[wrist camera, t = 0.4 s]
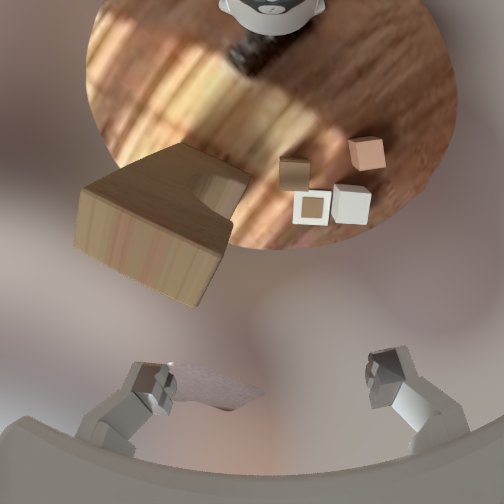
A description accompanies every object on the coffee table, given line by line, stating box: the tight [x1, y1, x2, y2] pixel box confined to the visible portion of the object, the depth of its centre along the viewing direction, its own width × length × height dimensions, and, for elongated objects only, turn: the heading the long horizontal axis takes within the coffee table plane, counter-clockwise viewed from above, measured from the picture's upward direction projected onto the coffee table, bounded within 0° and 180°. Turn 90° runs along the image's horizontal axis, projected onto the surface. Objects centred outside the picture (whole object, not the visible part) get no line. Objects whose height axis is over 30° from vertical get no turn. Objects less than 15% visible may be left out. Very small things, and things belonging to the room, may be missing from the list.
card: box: [293, 190, 331, 225], centre depth 52 cm, size 7×7×1 cm
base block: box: [331, 184, 371, 225], centre depth 48 cm, size 6×6×5 cm
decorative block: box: [74, 143, 250, 308], centre depth 37 cm, size 15×8×30 cm, turn 63°
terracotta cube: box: [348, 136, 386, 171], centre depth 43 cm, size 5×5×5 cm
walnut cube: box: [279, 157, 311, 192], centre depth 47 cm, size 5×5×5 cm
